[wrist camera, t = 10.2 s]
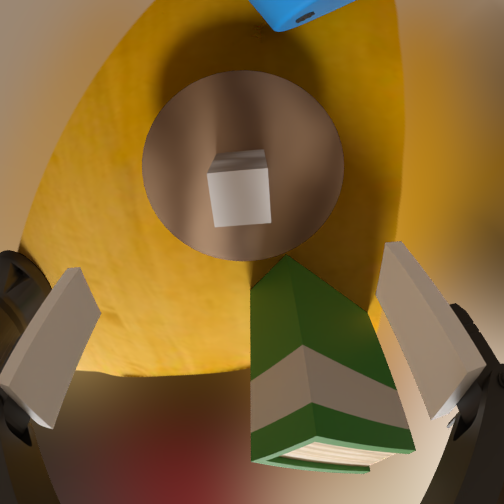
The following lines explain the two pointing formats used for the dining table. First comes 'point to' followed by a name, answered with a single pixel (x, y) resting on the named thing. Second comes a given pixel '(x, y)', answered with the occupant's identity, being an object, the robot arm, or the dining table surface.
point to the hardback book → (319, 379)
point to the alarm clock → (294, 11)
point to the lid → (243, 165)
